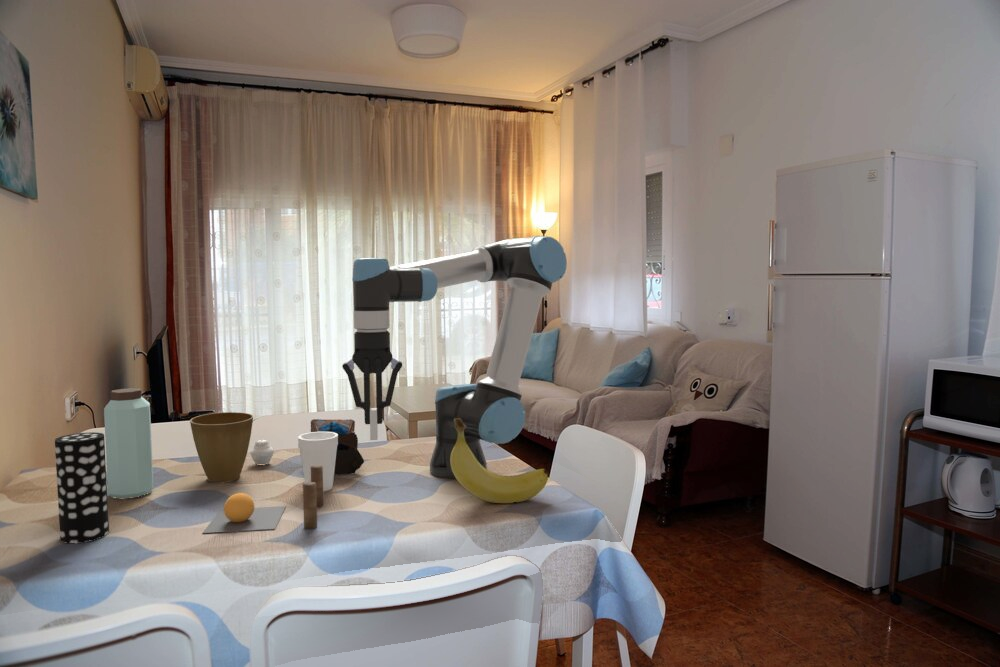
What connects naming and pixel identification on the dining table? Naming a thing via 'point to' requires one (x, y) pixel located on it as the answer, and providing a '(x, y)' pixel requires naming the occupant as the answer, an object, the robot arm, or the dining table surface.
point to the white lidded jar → (262, 452)
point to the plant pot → (222, 443)
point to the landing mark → (247, 521)
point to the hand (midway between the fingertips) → (374, 438)
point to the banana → (492, 476)
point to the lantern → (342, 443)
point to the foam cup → (319, 455)
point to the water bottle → (128, 444)
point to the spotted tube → (81, 487)
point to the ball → (239, 507)
